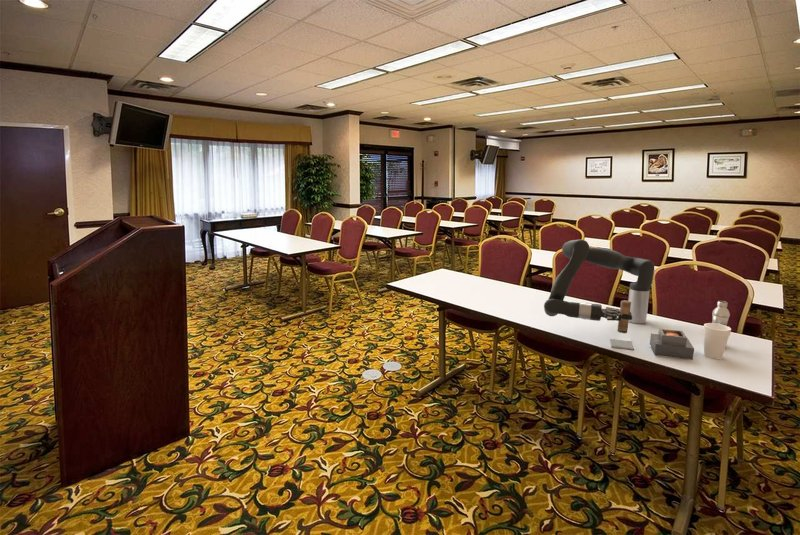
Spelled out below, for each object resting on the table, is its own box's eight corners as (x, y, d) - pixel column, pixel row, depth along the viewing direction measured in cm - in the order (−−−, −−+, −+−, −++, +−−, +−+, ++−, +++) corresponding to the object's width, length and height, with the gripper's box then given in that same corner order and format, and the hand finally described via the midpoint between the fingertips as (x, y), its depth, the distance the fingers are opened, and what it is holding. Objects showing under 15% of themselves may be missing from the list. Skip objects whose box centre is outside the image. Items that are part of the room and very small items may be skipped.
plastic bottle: (721, 342, 204) (727, 300, 200) (727, 347, 198) (734, 304, 194) (705, 341, 206) (711, 299, 202) (711, 346, 199) (717, 303, 195)
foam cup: (701, 349, 195) (705, 321, 193) (727, 355, 190) (731, 326, 187) (698, 356, 188) (702, 327, 185) (725, 362, 182) (730, 332, 180)
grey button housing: (649, 343, 203) (651, 326, 201) (685, 347, 198) (687, 329, 196) (654, 355, 190) (656, 336, 188) (692, 359, 185) (695, 340, 183)
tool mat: (610, 339, 208) (610, 338, 207) (631, 342, 204) (631, 341, 204) (611, 347, 198) (611, 346, 198) (634, 350, 195) (634, 348, 195)
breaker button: (664, 337, 196) (664, 331, 195) (677, 338, 194) (677, 333, 193) (666, 341, 191) (666, 335, 191) (679, 342, 189) (680, 337, 189)
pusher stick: (616, 329, 203) (620, 300, 200) (626, 330, 201) (630, 301, 198) (617, 332, 199) (621, 302, 196) (627, 333, 198) (631, 303, 195)
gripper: (590, 307, 196) (634, 312, 190) (590, 299, 209) (630, 303, 203) (589, 324, 198) (632, 329, 192) (588, 315, 211) (628, 319, 205)
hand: (631, 316), depth 198 cm, fingers closed on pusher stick, 4 cm apart
